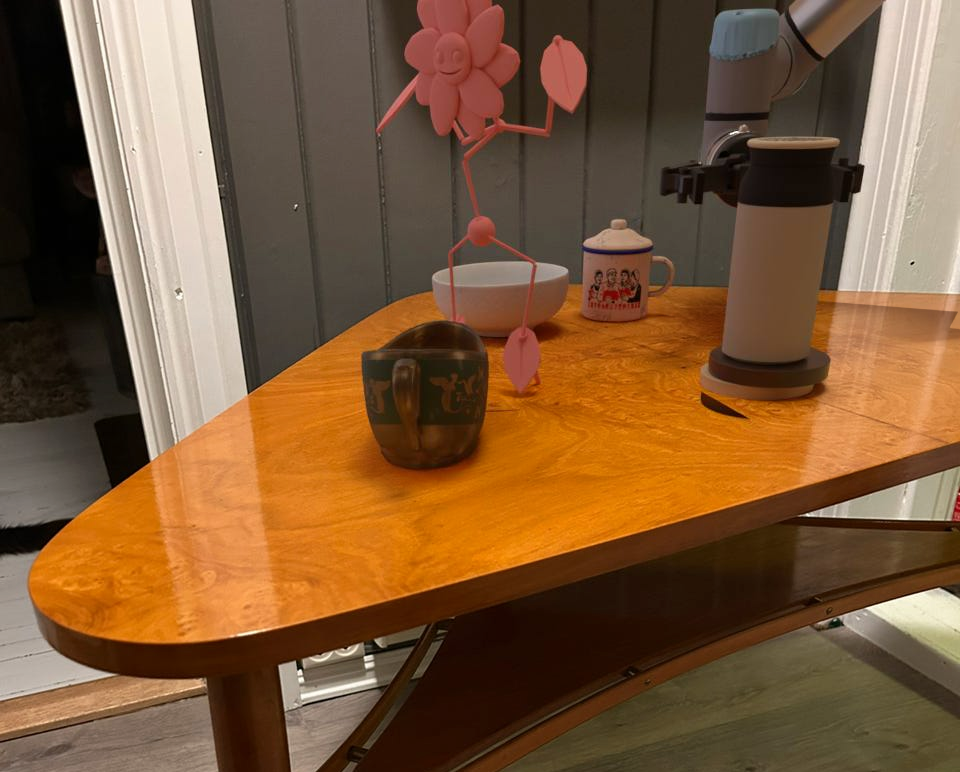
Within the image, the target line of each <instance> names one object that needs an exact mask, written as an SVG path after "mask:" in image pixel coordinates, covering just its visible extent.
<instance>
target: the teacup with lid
mask: <svg viewBox="0 0 960 772" xmlns="http://www.w3.org/2000/svg"><path fill="white" fill-rule="evenodd" d="M627 225H628V223H627V221H626V219H621V218H618V219H617V218H615V219H613V220H611V222H610V228H607V229H603V230H602V231H601V232H599V233H598V234H597V235H595V236H591V237H590V238H587V239H586V240H584V242H583V243H582V244H583V245H582V246H581V249H582V251H583V263H582V264H583V265H582V269H583V270H582V290H581V291H582V292H581V293H582V296H581V314H582V316H583V317H585V318H586V319H590V320H593V321H596V322H597V321H599V322H609V323H615V322H617V323H618V322H619V323H621V322H631V321H637V320H640V319H643V318H645V317H646V315H647V314H648V304H649V298H656V297H660V296H662V295H664V294H665V293H666V292H667V291H669V289H670V287H671V286H672V284H673V281H674V278H675V266H674V264H673V262H672V261H671V260H670V259H669V258H667V257H666V256H660V255H652V251H653V250H654V245H653V244H654V243H653V242H652V239H650V238H648V237H644V236H643V235H640V234H639V233H637V232H636V231H635V230H633V229H632V228H627V227H628V226H627ZM651 263H652V264H653V263H661V264H663V265H665V266H666V267H667V268H668V277H667V279H666V282H665V283H664V285H662V287H660V288H659V289H656V290H650V289H649V288H650V275H651Z"/></svg>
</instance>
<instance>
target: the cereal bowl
mask: <svg viewBox="0 0 960 772" xmlns="http://www.w3.org/2000/svg"><path fill="white" fill-rule="evenodd" d="M535 265H537V267H536V273H535V279H534V285H533V291H532V297H531V303H530V308H529V314H528V320H527V326H526V327H527V328H529V329H530V330H532V331H533V330H534V329H535V327H537V326H539V325H541V324H542V323H544V322H545V323H546V322H547V321H548V320H550V319H552V318H553V317H555V315H557V314H558V312H560V310H561V309H562V308H563V306H564V304H565V302H566V299H567V296H568V293H569V292H568V291H569V284H570V281H569V280H570V274H569V273H570V271H569V270H568V268H566V267H564V266H561V265H558V264H553V263H546V262H537V261H536V263H535ZM532 268H533V264H532V263H530V262H528V261H489V262H487V261H486V262H477V263H476V262H475V263H469V264H462V265H457V266H453V281H454V296H455V311H456V316H457V315H462V317H465V323H466V325H468V326H469V327H470V328H472V329H473V330H474V331H475V332H476V333H477V334H478V335H479V337H486V338H509V337H510V334H511V333H512V332H513V331H515V330H516V329H517V328H519V327H521V328H523V322H524V316H525V310H526V304H527V298H528V292H529V286H530V280H531V274H532ZM431 284H432V285H431V286H432V293H433V297H434V301H435V304H436V306H437V309H438V310H439V312H440V314H441V315H442V316H444V318H445V319H446V320H450V319H451V318H452V317H453V314H452V300H451V286H450V272H449V267H448V268H444V269H441V270H438V271H437V272H435V273H434V274H433V275H432V277H431Z"/></svg>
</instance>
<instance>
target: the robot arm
mask: <svg viewBox="0 0 960 772" xmlns="http://www.w3.org/2000/svg"><path fill="white" fill-rule="evenodd" d="M886 1H887V0H794V1H793V2H792V3H791V4H790V5H789V7H788V8H787V9H786V10H785V11H784V12H783V13H782V14H781V15H780V13H779V11H778V10H776V9H773V8H745V9H729V10H724V11H721V12H720V13H718V15H717V16H716V17H715V19H714V22H713V28H712V35H711V42H710V44H709V66H708V79H707V80H708V81H707V90H706V91H707V92H706V104H705V114H704V123H703V133H702V144H701V148H700V149H699V151H698V158H697V159H698V160H695V159H690V160H689V161H686V162H685V163H681V164H680V163H679V164H675V165H671V166H664V167H661V168H660V173H659V187H658V189H659V190H658V195H659V196H662V197H667V196H670V195H673V194H676V201H675V202H676V204H687V203H688V198H689V200H690V201H691V203H693V205H703V203H704V202H703V201H704V193H710V192H711V193H713V194H714V195H715V196H716V197H717V198H718V199H720V200H721V201H722V203H724V204H725V205H728V206H729V207H731V208H735V209H737V206H738V197H739V188H740V182H741V180H742V178H743V177H744V175H745V173H746V171H747V170H748V168H749V166H750V165H751V163H750V147H749V146H748V145H747V142H748V141H749V140H750V139H754V138H766V137H767V135H768V126H769V118H770V110H771V103H772V102H774V103H775V102H781V101H784V100H786V99H788V98H789V97H791V96H792V95H794V94H796V93H797V92H799V90H801V89H802V88H803V86H804V85H805V84H806V82H807V80H808V78H809V77H810V73H812V72H813V71H814V70H815V69H816V68H817V67H818V66H819V65H820V64H821V63H822V62H823V61H824V60H825V59H826V58H827V57H828V55H830V54H831V53H832V52H833V51H834V50H835V49H836V48H838V46H839V45H840V44H841V43H842V42H843V41H845V40H846V39H847V38H848V37H849V36H850V35H852V33H853V32H854V31H855V30H856V29H857V28H858V27H860V26H861V24H863V23H864V22H865V21H866V20H867V19H868V18H869V17H870V16H871V15H872V14H873V13H875V11H877V9H878V8H880V7H881V6H882V5H883V4H884V3H885V2H886ZM849 162H850V157H848V156H847V157H839V158H838V162H835V161H834V162H833V161H831V163H830V165H831V168H832V171H833V174H834V177H835V180H836V188H835V195H834V201H836V202H838V203H849V198H850V193H851V195H852V194H853V195H857V194H859V193H861V191H862V186H863V179H864V174H865V169H866V168H865V167H866V166H865V164H862V163H856V164H855V163H849Z"/></svg>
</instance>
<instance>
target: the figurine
mask: <svg viewBox="0 0 960 772" xmlns="http://www.w3.org/2000/svg"><path fill="white" fill-rule="evenodd" d="M416 12H417V16H418V19H419V22H420V23H421V25H422V27H423V28H421V29H420V30H419V31H418V32H417V31H416V33H414V34H413V35H412V36H411V37H410V38H409V41H408V42H407V44H406V46H405V49H404V58H405V62H406V63H407V64H408V65H409V66H411V67H413V68H414V69H415V70H417V71H418V73H417V75H415V77H414V78H413V79H412V80H411V81H410V82H409V83H408V84H407V86H405V88H404V89H403V90H402V92H401V93H400V94H399V95H398V97H397V98H396V99H395V100H394V102H393V104H392V105H391V106H390V107H389V109H388V111H386V114H384V116H383V118H382V120H381V121H380V123H379V125H378V127H377V128H376V130H375V132H376V134H379V133H381V131H382V130H384V129H385V127H387V125H388V124H389V123H390V122H391V121H392V120H393V119H394V118H395V117H396V115H398V113H399V112H400V111H401V110H402V108H403V107H404V106H405V105H406V104H407V102H408V101H409V100H410V98H411V97H412V96H413V95H414V93H415V98H416V101H417V102H418V103H419V105H420V106H429V113H430V118H431V122H432V126H433V129H434V130H435V132H436V134H437V135H438V136H441V137H445V136H446V135H447V134H449V133H450V132H451V131H452V129H453V130H454V132H455V134H456V136H457V137H458V140H459V141H460V142H461V143H460V144H461V146H462V147H463V146H464V147H465V146H466V145H468V144H470V143H472V142H474V141H478V142H477V143H475V145H474V146H472V147H471V148H470V149H469V150H467V151H466V152H465V153H464V154H463V158H464V159H463V160H462V161H461V165H462V168H463V172H464V177H465V180H466V184H467V186H468V191H469V195H470V200H471V202H472V206H473V210H474V214H475V217H474V218H473V219H471V221H470V222H469V223H468V226H467V234H466V236H464V237H463V238H462V239H461V240H460V241H459V242H458V243H457V244H456V245H455V246H453V248H452V249H451V250H449V251H448V255H447V257H448V268H449V272H450V286H451V300H452V314H453V317H452V318H451V319H450V320H448V319H447V320H448V321H455V322H458V323H464V324H466V323H465V317H462V315H457V316H456V311H455V296H454V281H453V267H454V266H453V254H454V253H455V252H456V251H457V250H458V249H460V247H461V246H463V245H464V244H465V243H466V242H467V241H468V240H469V241H470V242H471V243H472V244H473V245H474V246H477V247H485V246H486V247H487V246H488V245H490V244H491V243H494V244H496V245H498V246H500V247H501V248H503V249H505V250H507V251H508V252H510V253H512V254H514V255H515V256H517V257H519V258H521V259H522V260H525V262H530V263H532V264H533V268H532V274H531V280H530V286H529V292H528V298H527V304H526V310H525V316H524V322H523V328H521V327H519V328H517V329H516V330H515V331H513V332H512V333H511V334H510V337H508V339H507V342H506V344H505V346H504V348H503V356H502V362H503V367H504V370H505V373H506V375H507V377H508V379H509V380H510V382H511V383H512V385H513V387H514V388H515V389H516V390H517V392H518V393H519V394H520V395H521V394H522V393H523V392H524V391H525V390H526V389H527V387H528V386H529V385H530V383H531V382H532V380H533V379H534V382H535V384H538V385H539V384H540V383H541V378H540V375H539V372H538V370H539V366H540V363H541V360H542V357H541V355H542V354H541V347H540V344H539V341H538V338H537V336H536V334H535V331H533V330H530V329H529V328H527V327H526V326H527V320H528V314H529V308H530V303H531V297H532V291H533V285H534V279H535V273H536V267H537V265H535V263H536V262H537V261H536V260H534V259H532V258H531V257H528V256H527V255H525V254H524V253H521V252H520V251H518V250H516V249H514V248H512V247H511V246H509V245H507V244H505V243H503V242H502V241H500V240H498V239H496V238H495V236H496V226H495V223H494V222H493V221H492V220H491V219H490V217H487V216H484V215H480V211H479V207H478V203H477V198H476V193H475V188H474V184H473V180H472V175H471V171H470V167H469V161H468V160H469V159H470V158H471V157H472V156H474V155H475V154H476V153H477V152H478V151H479V150H480V149H482V147H483V146H485V145H486V144H487V143H488V142H489V141H490V140H491V139H493V137H495V135H496V134H500V133H501V134H502V133H503V132H505V131H508V132H509V131H510V132H514V133H515V132H516V133H522V134H526V135H527V134H528V135H535V136H542V137H547V138H550V137H551V134H550V132H551V131H552V128H553V120H554V119H553V118H554V111H555V109H554V108H555V104H556V105H558V106H559V107H560V108H561V109H563V110H565V111H567V112H568V113H570V114H572V115H573V114H574V112H575V111H576V109H577V108H578V105H579V104H580V101H581V99H582V97H583V95H584V92H585V90H586V88H587V79H588V66H587V63H586V61H585V58H584V54H583V53H582V52H581V51H580V49H579V48H578V47H577V46H576V45H575V43H574V42H573V41H570V40H567V39H564V38H563V37H562V36H561V35H560V34H559V35H558V34H557V35H554V37H553V39H552V41H551V43H550V44H549V45H548V46H547V48H545V50H544V51H543V55H542V58H541V63H540V67H539V69H540V80H541V84H542V86H543V89H544V90H545V92H546V94H547V96H548V101H547V111H546V118H545V119H546V120H545V129H544V128H537V127H533V126H525V125H518V124H512V123H506V122H505V120H503V119H501V118H500V116H501V115H502V114H503V113H504V108H505V101H504V94H503V92H502V91H501V90H500V89H499V88H502V87H503V86H505V85H506V84H507V83H508V82H509V81H511V80H512V79H513V78H514V76H515V74H516V73H517V72H518V70H519V68H520V64H521V59H520V54H519V52H518V51H517V50H515V48H513V47H511V46H510V45H507V44H505V43H502V40H503V37H504V32H505V31H504V30H505V19H506V18H505V12H504V9H503V7H501V6H500V5H499V4H496V5H493V0H417V6H416ZM486 119H492V120H493V123H494V124H492V125H490V126H487V127H486ZM457 122H458V123H459V125H460V126H461V127H462V129H463V130H464V133H466V135H468V136H466V137H465V136H464V134H463V132H462V130H461V129H460V127H459V125H458V123H457ZM519 411H521V410H520V408H516V409H515V408H513V409H497V410H493V409H492V410H491V409H490V410H486V412H485V413H504V412H506V413H507V412H519Z"/></svg>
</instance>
